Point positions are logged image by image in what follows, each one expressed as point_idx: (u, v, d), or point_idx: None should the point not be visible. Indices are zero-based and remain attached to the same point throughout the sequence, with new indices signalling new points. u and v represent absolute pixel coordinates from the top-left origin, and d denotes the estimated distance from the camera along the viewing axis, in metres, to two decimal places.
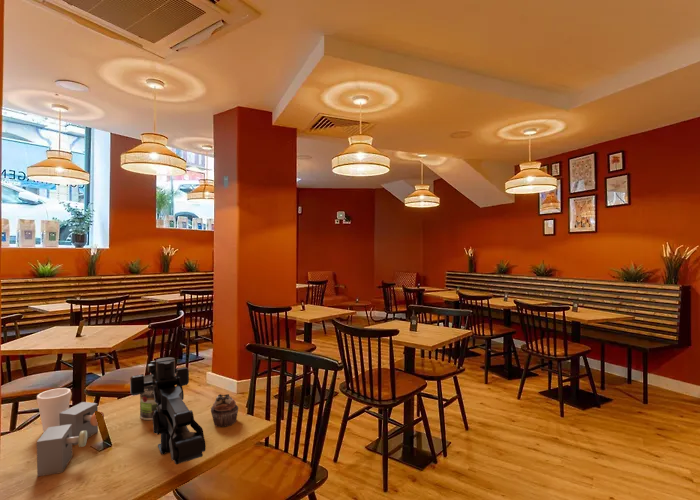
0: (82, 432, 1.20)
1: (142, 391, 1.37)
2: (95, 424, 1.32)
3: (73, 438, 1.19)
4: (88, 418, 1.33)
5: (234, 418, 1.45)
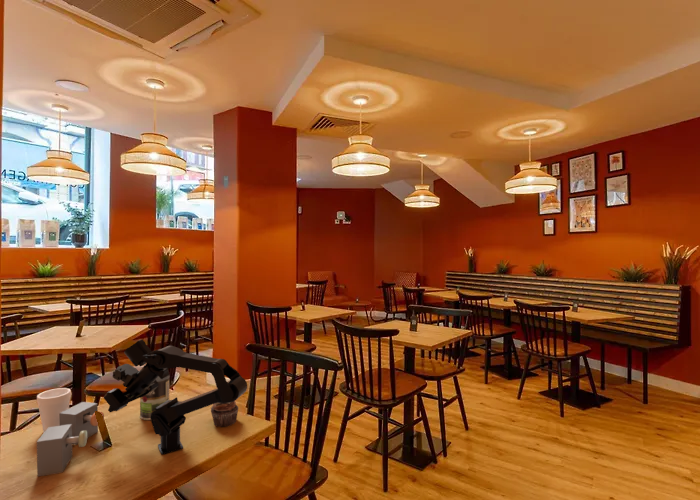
0: (82, 432, 1.20)
1: (126, 399, 1.24)
2: (95, 424, 1.32)
3: (73, 438, 1.19)
4: (88, 418, 1.33)
5: (234, 418, 1.45)
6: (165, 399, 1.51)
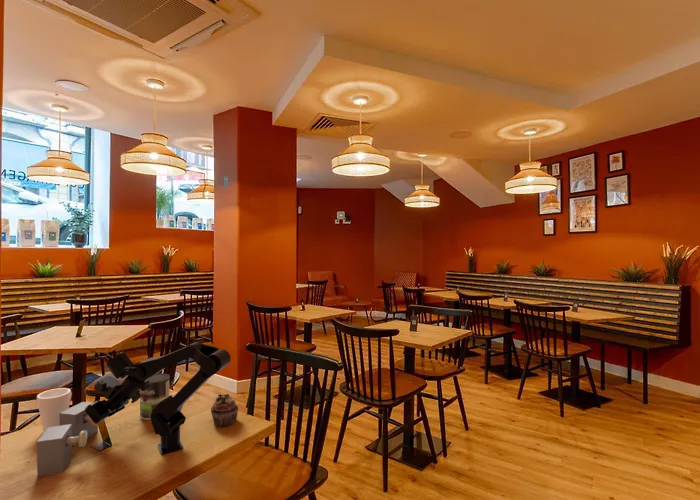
0: (82, 432, 1.20)
1: (107, 411, 1.26)
2: (95, 424, 1.32)
3: (73, 438, 1.19)
4: (88, 418, 1.33)
5: (234, 418, 1.45)
6: None
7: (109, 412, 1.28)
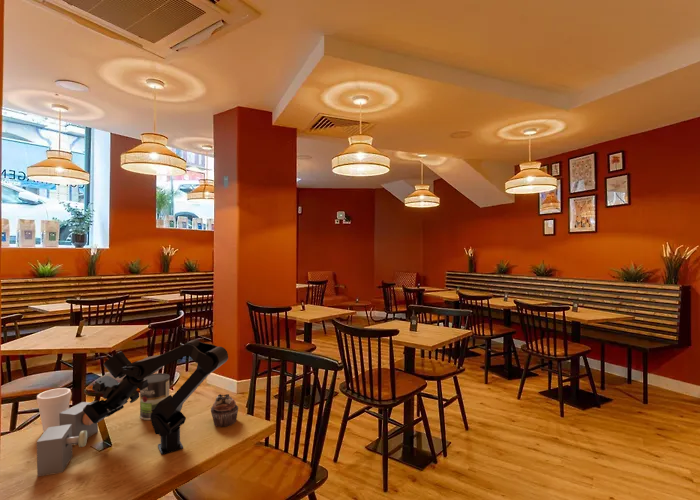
0: (82, 432, 1.20)
1: (106, 411, 1.26)
2: (87, 423, 1.32)
3: (73, 438, 1.19)
4: None
5: (234, 418, 1.45)
6: None
7: (108, 412, 1.28)
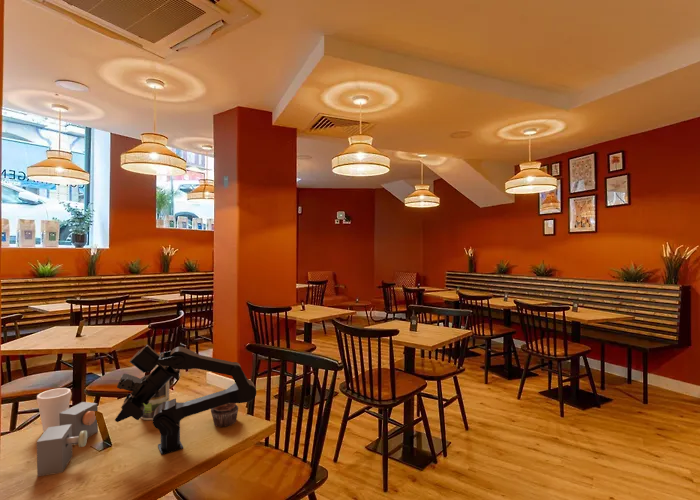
0: (82, 432, 1.20)
1: (143, 406, 1.20)
2: (87, 423, 1.32)
3: (73, 438, 1.19)
4: None
5: (234, 418, 1.45)
6: (165, 399, 1.51)
7: None
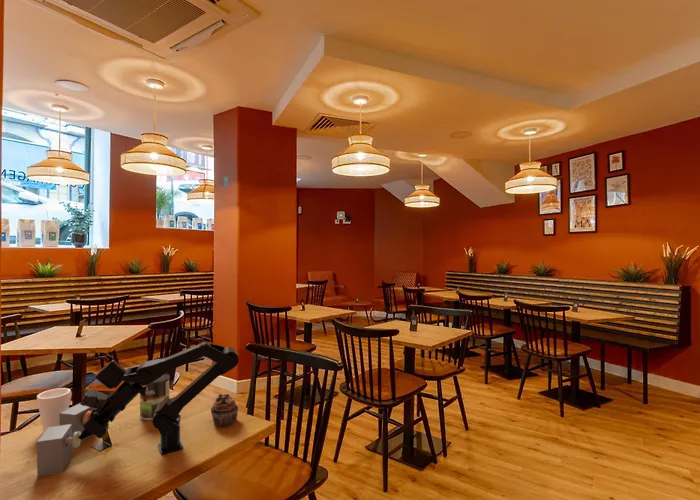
0: (76, 433, 1.19)
1: (107, 424, 1.17)
2: None
3: (67, 439, 1.18)
4: None
5: (234, 418, 1.45)
6: None
7: None
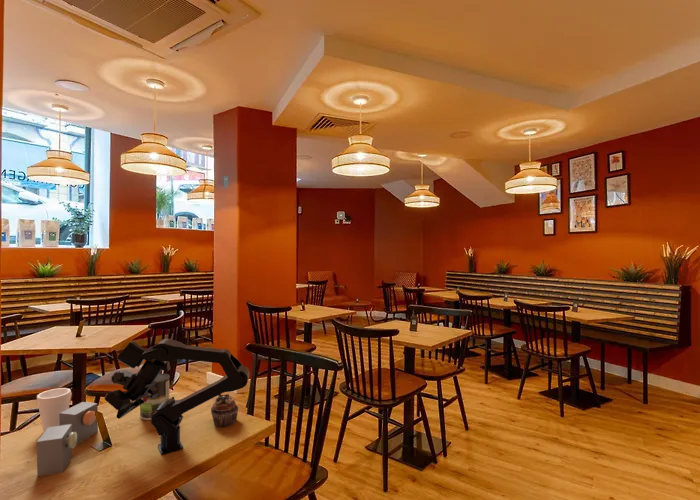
0: (72, 433, 1.19)
1: (128, 398, 1.20)
2: (87, 423, 1.32)
3: None
4: None
5: (234, 418, 1.45)
6: (165, 399, 1.51)
7: (129, 402, 1.23)
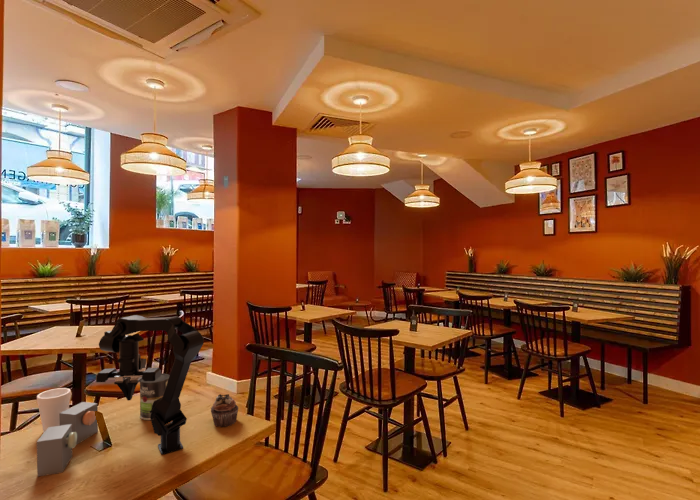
0: (72, 433, 1.19)
1: (107, 372, 1.31)
2: (87, 423, 1.32)
3: None
4: None
5: (234, 418, 1.45)
6: None
7: (115, 379, 1.31)
